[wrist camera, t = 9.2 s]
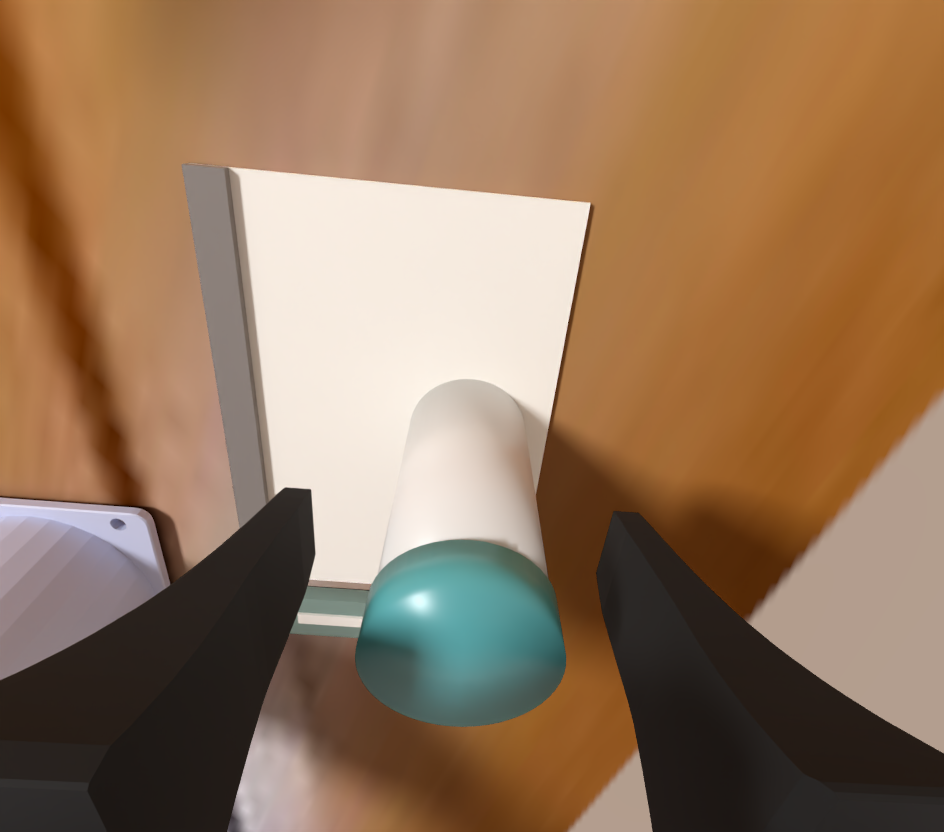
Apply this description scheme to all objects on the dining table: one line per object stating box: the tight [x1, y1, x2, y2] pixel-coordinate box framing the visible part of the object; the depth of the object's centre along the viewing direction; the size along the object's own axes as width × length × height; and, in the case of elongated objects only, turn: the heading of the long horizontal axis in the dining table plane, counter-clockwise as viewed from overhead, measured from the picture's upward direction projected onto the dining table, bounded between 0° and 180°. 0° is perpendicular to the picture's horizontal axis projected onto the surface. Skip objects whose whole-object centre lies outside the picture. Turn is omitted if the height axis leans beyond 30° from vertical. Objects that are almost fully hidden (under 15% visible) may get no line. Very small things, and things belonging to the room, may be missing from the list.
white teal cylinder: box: [355, 379, 566, 727], centre depth 13 cm, size 4×4×8 cm
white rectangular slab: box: [182, 163, 591, 584], centre depth 17 cm, size 10×14×1 cm
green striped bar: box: [290, 586, 369, 638], centre depth 21 cm, size 8×2×1 cm, turn 85°
